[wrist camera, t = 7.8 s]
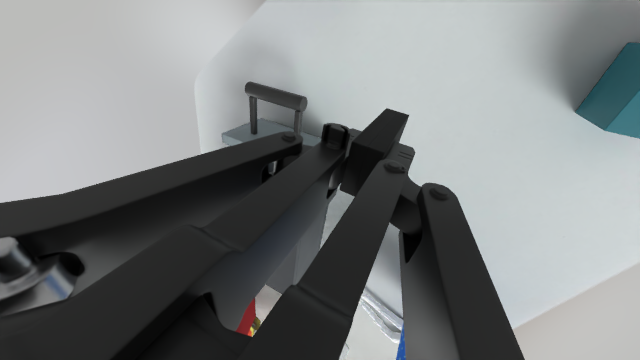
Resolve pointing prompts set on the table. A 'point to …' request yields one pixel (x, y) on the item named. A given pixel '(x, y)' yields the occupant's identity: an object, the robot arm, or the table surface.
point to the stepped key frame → (386, 313)
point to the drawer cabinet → (299, 257)
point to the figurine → (254, 326)
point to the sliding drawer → (264, 126)
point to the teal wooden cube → (617, 95)
